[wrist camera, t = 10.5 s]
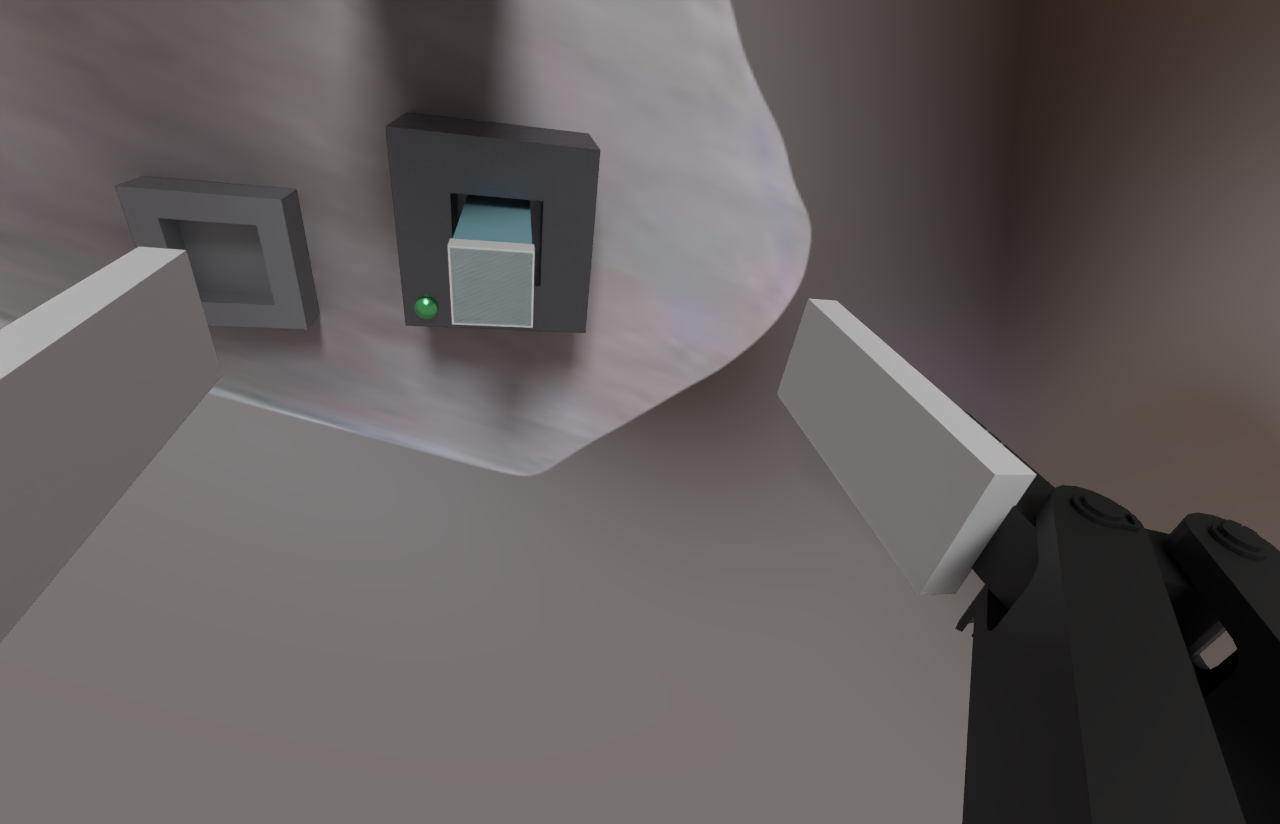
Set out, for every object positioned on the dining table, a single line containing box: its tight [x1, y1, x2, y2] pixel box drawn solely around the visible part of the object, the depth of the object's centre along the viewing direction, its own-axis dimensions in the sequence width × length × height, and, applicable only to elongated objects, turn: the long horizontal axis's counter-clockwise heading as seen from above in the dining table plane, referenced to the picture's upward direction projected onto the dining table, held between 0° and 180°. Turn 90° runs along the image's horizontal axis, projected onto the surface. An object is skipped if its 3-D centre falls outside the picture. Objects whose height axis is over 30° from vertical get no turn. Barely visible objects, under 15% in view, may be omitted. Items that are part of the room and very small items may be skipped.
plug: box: [447, 195, 535, 328], centre depth 34 cm, size 4×4×12 cm
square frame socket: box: [115, 176, 319, 330], centre depth 39 cm, size 9×9×3 cm
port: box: [386, 112, 600, 333], centre depth 39 cm, size 12×12×7 cm
